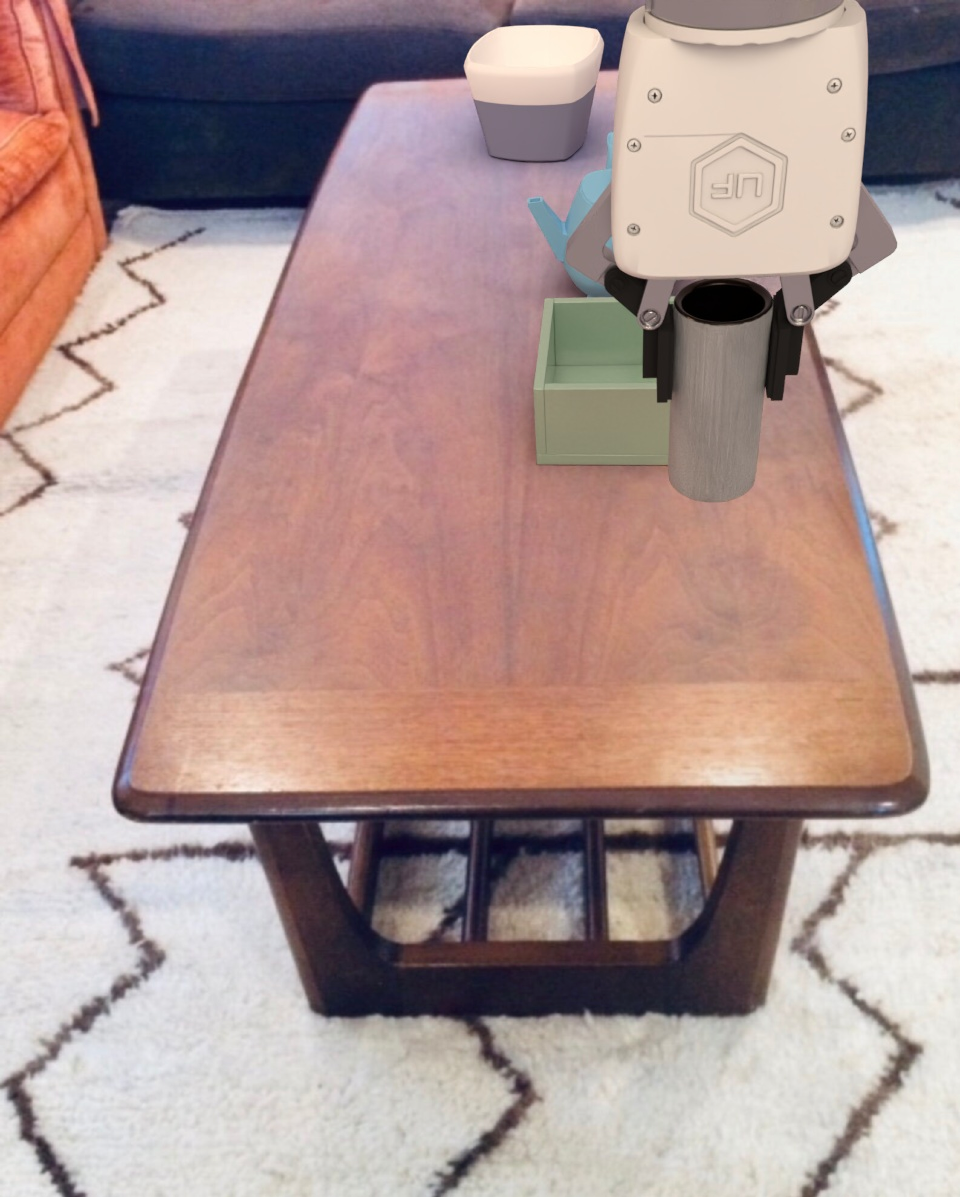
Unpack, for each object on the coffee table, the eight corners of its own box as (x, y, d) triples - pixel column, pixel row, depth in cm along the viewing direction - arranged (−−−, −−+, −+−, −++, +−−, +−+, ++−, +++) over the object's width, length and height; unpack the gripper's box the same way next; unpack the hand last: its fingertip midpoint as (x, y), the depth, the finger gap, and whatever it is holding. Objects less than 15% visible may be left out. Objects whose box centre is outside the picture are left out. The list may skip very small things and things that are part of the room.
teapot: (514, 286, 107) (509, 171, 99) (610, 236, 113) (612, 124, 105) (632, 340, 98) (636, 219, 91) (729, 283, 105) (740, 165, 97)
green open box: (705, 369, 94) (711, 295, 89) (712, 465, 84) (719, 388, 80) (547, 370, 96) (544, 297, 91) (536, 465, 86) (533, 389, 81)
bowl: (457, 166, 129) (449, 66, 121) (494, 117, 139) (488, 22, 132) (585, 173, 125) (585, 70, 117) (613, 122, 135) (614, 24, 128)
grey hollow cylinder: (752, 451, 59) (769, 273, 52) (759, 503, 56) (778, 322, 49) (666, 452, 60) (672, 277, 53) (668, 504, 56) (674, 325, 49)
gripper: (514, 18, 40) (540, 433, 52) (1006, -14, 38) (910, 428, 50) (529, -38, 45) (549, 350, 58) (960, -70, 43) (884, 342, 55)
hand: (717, 383), depth 54 cm, fingers closed on grey hollow cylinder, 4 cm apart
